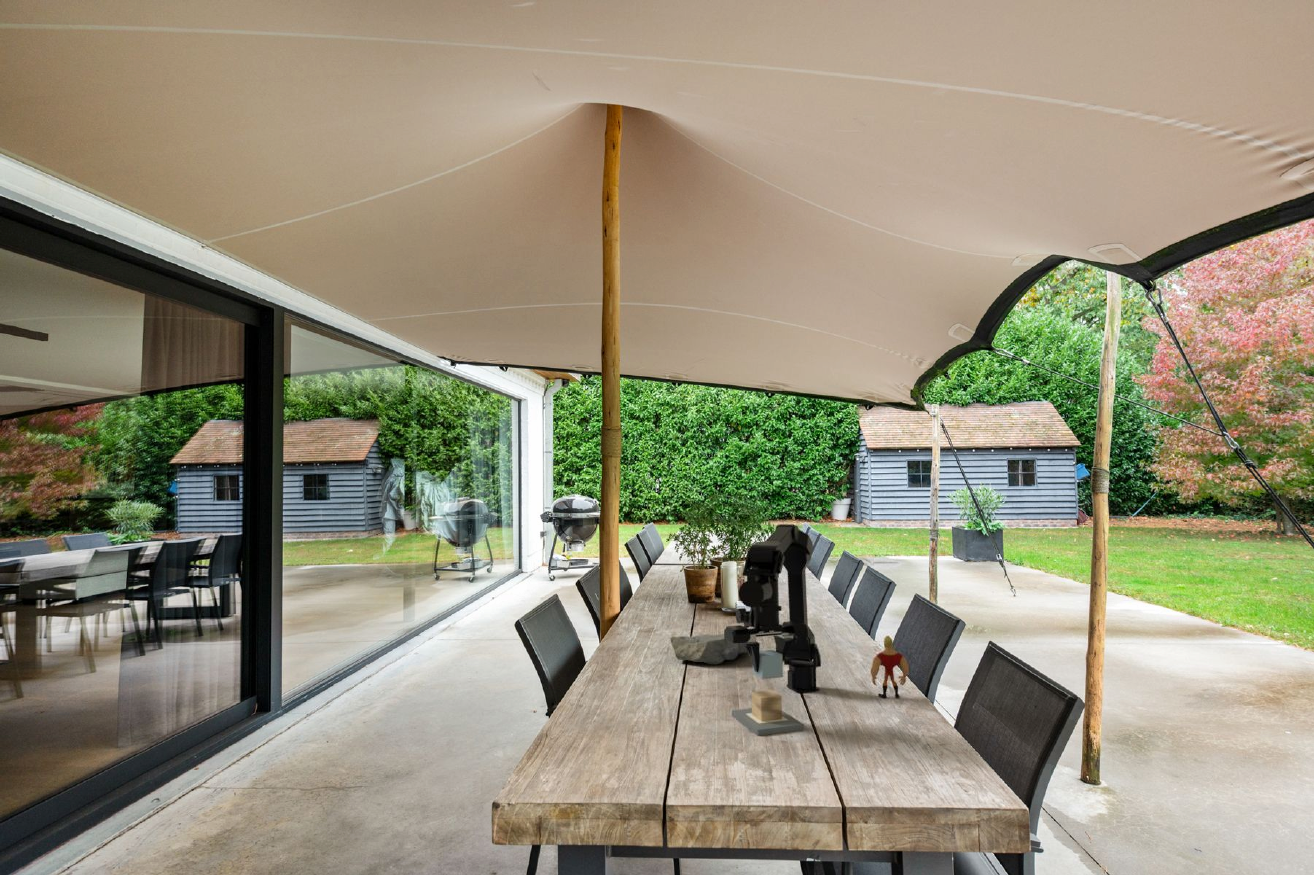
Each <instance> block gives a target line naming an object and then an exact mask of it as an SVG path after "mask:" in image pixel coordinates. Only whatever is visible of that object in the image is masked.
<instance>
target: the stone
mask: <svg viewBox="0 0 1314 875" xmlns="http://www.w3.org/2000/svg"><path fill="white" fill-rule="evenodd" d="M669 639H670V642H671V646H672V648H673V651H674V655H675V657H676V659H677V660H679V661H682V660H683V661H692V662H694V663H696V662H697V663H703V662H704V663H705V664H708V665H718V664H721V663H723V662H724V661H728V660H731V661H732V660H735V659H736V658H737V657H738V656H739V655H742V654H744V653H745V654H746V653H748V651H747V649H746V647H745V646H744V644H742V643H732V642H730V641H728V640H726V639H724V633H723V634H722V633H721V634H708V633H706V634H701V635H700V634H699V635H694V636H693V635H692V636H686V635H684V636H681V635H680V636H671V637H670V638H669ZM748 654H749V653H748ZM704 663H703V664H704Z"/></svg>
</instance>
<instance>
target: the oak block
mask: <svg viewBox="0 0 1314 875" xmlns="http://www.w3.org/2000/svg"><path fill="white" fill-rule="evenodd" d="M782 698H783V697H782V695H781V694H779V693H777V692H776V691H774V690H772V689H770V690H769V689H768V690H761V691H752V692H751V708H752V715H753V716H755V717H756V718H757V719H759V720H760V721H769V720H778V719H782V711H783V704H782V703H783V701H782V700H783V699H782Z"/></svg>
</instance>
